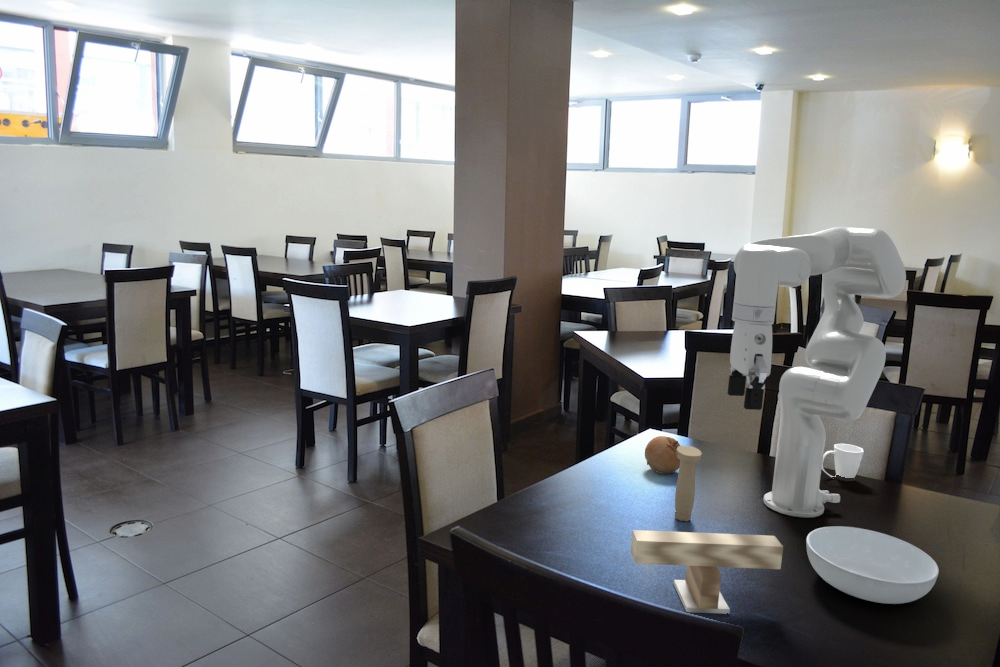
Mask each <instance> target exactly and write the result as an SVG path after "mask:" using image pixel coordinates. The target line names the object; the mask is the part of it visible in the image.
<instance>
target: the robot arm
mask: <svg viewBox="0 0 1000 667" xmlns="http://www.w3.org/2000/svg"><path fill="white" fill-rule="evenodd" d="M733 270H734V272H735V274H736V278H735V285H734V296H733V303H732V304H733V305H732V314H731V315H732V316H731V321H733V322H734V326H733V332H732V338H731V343H730V344H731V345H730V356H729V364H730V368H729V375H728V376H729V377H728V386H727V395H728V396H730V397H731V396H732V397H733V396H734V397H736V396H737V397H743V396H744V399H743V400H744V401H743V408H744V409H745V410H755V411H761V410H762V408H763V401H764V393H765V392H764V391H765V389H766V382H767V377H769V376H770V375H771V368H772V358H773V357H772V356H773V354H772V353H773V325H774V322H775V315H776V308H777V307H776V306H777V300H778V299H777V298H778V297H777V296H778V291H779V290H778V289H779V288H778V287H782V288H783V287H784V288H796V287H799V286H801V285H803V284H804V283H806V281H808V279H809V278H810V277H811V276H818V275H822V289H823V290H822V291H823V299H824V300H823V302H824V309H823V313H822V316H821V317H820V320H819V322H818V324H817V326H816V327H815V329H814V331H813V334H812V336H811V337H810V339H809V341H808V343H807V346H806V349H805V353H804V361H806V364H807V365H808V366H809V367H808V366H795V367H791V368H788V369H786V370H785V372H784V373H783V374H782V375H781V377H780V379H779V380H780V381H779V385H778V386H779V387H778V390H779V391H778V392H779V403H780V404H779V406H780V409H779V410H780V415H779V419H780V420H779V426H778V427H779V430H778V436H777V444H776V453H775V461H774V462H775V463H774V471H773V479H772V489H771V491H769V492H767V493H765V494H764V495H763V503H764V505H765V506H766V507H768V508H769V509H771V510H772V511H775V512H777V513H780V514H783V515H787V516H790V517H794V518H795V517H797V518H805V519H806V518H808V519H809V518H816V517H820V516H821V515H823V514H824V511H825V505H824V504H826V503H829V502H830V503H835V504H837V503H840V502H841V495H840V494H839V493H830V491H829V490H824V489H822V490H821V489H820V485H821V483H820V482H821V477H822V476H821V474H822V461H823V454H824V453H825V446H826V437H827V436H826V435H827V434H826V429H825V425H824V423H823V421H822V418H821V417H824V418H825V417H826V418H829V419H833V420H837V421H841V422H842V421H843V422H855V421H856V420H858V419H859V418H860V417H861V416H862V414H863V412H864V411H865V409H866V407H867V406H868V403H869V400H870V398H871V397H872V394H873V392H874V390H875V388H876V385H877V383H878V381H879V379H880V378H881V376H882V372H883V370H884V368H885V363H886V357H887V350H886V346H885V344H884V343H883V342H882V340H881V339H879V338H877V337H875V336H871V335H870V334H864V333H860V332H861V330H862V328H863V326H864V320H865V319H864V316H863V313H862V310H861V308H860V306H859V305H858V304H857V303H856V300H854V298H853V296H852V295H857V296H861V297H862V296H863V297H872V298H877V299H878V298H880V299H894V298H895V297H898V296H899V295H900V294H901V293H902V291H903V290H904V288H905V285H906V282H907V280H906V279H907V274H906V272H907V271H906V267H905V264H904V262H903V260H902V257H901V255H900V253H899V251H898V248H897V246H896V245H895V243H894V241H893V240H892V238H891V237H890V235H889V234H887V232H885V231H883V230H882V229H881V228H871V227H851V226H836V227H831V228H827V229H824V230H820V231H817V232H813V233H809V234H799V235H791V236H785V237H773V238H766V239H760V240H755V241H752V242H748V243H746V244H745V245H743V246H742V247H741V248H740V249H738V251H737V253H736V254H735V257H734V261H733ZM746 382H747V387H746ZM820 416H821V417H820ZM823 462H824V461H823Z"/></svg>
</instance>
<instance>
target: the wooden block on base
mask: <svg viewBox="0 0 1000 667" xmlns="http://www.w3.org/2000/svg"><path fill="white" fill-rule="evenodd" d="M685 567H686V569H685V579H673V586H674V588H675V590H676V593H677V594H678V598H679V599H680V602H681V603H682V605H683V607H684V610H685V612H686V613H697V614H698V613H699V614H700V613H701V614H702V613H703V614H724V615H727V613H728V615H729V614H730V612H731V608H730V607H729V606H728V604H727V601H726V600H725V599H724V596H723V594H722V593H721V591H720V590H721V580H722V573H721V572H720V570H719V567H709V566H685Z"/></svg>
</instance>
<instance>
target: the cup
mask: <svg viewBox="0 0 1000 667" xmlns="http://www.w3.org/2000/svg"><path fill="white" fill-rule="evenodd" d="M864 453H865V452H864V448H863V447H860V446H857V445H854V444H848V443H842V442H841V443H835V444H833V450H827V451H824V454H823V461H822V469H821V471H822V472H824V473H825V474H826V475H828V477H830V478H832V477H834V476H833V475H831V474H829V473H828V472H827V471H826V469H825V468H824V461H825V458H826V457H827V455H829V454H831V455H832V454H833V456H834V459H833V460H834V470H835V475H839V476H841V477H845V478H855V477H856V475H857V473H858V471H859V468H860V465H861V462H862V459H863V456H864Z"/></svg>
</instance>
